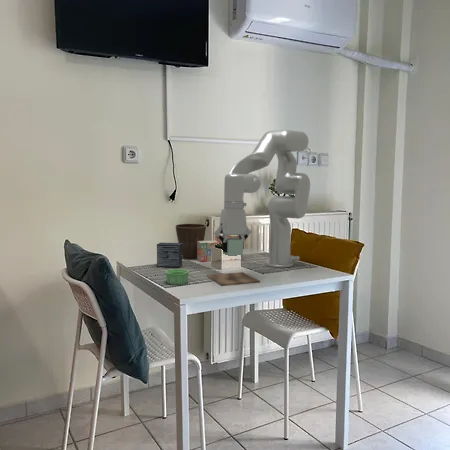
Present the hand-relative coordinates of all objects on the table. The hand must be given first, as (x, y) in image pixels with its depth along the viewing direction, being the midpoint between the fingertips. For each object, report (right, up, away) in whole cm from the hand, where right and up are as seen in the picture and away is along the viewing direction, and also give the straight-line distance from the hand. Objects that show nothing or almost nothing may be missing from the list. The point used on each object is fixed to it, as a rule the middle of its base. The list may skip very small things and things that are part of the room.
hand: (232, 251), depth 179 cm
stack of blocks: (-6, -7, +41) cm, 42 cm away
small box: (-28, -8, +25) cm, 38 cm away
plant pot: (-20, -6, +45) cm, 50 cm away
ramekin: (-21, -12, -4) cm, 25 cm away
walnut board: (0, -11, +2) cm, 11 cm away
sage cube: (0, -1, 0) cm, 1 cm away
